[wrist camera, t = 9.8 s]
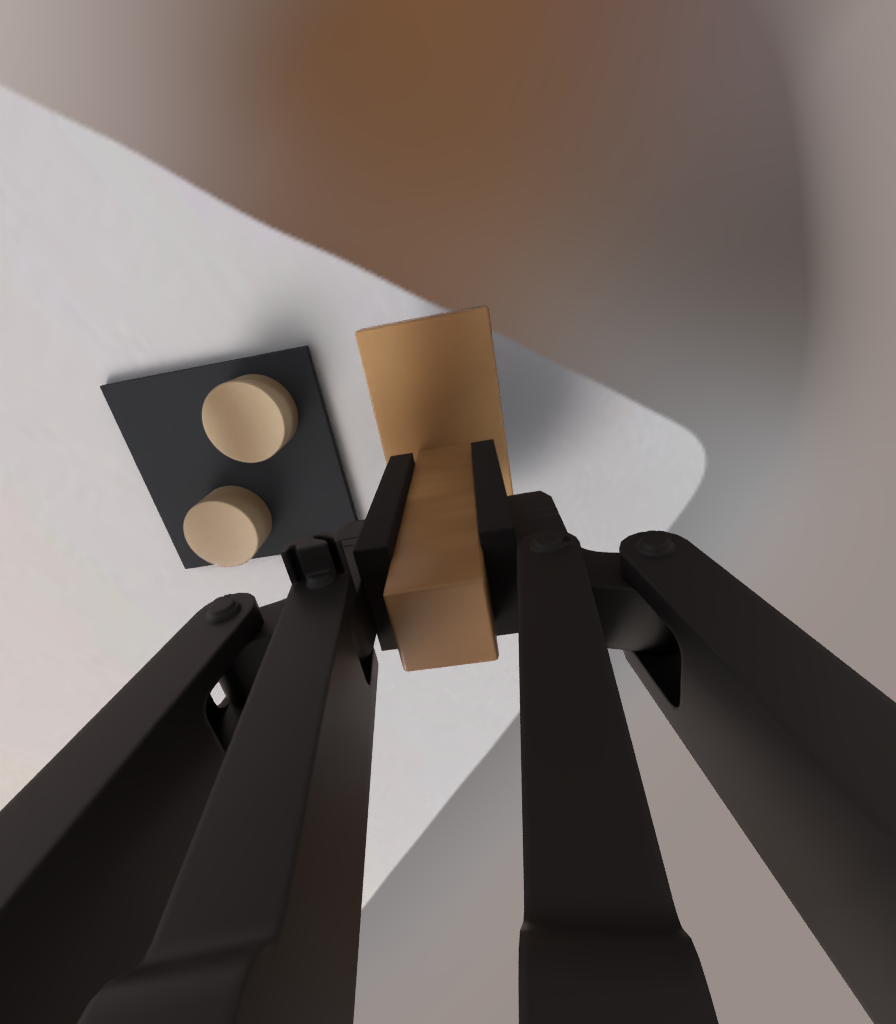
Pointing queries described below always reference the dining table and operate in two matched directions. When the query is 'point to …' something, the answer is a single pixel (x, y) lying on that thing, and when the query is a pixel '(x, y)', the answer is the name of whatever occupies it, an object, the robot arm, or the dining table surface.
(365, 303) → the dining table surface
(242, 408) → the disc
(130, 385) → the mat
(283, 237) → the dining table surface
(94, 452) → the dining table surface
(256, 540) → the disc
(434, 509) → the wooden t-shaped block
